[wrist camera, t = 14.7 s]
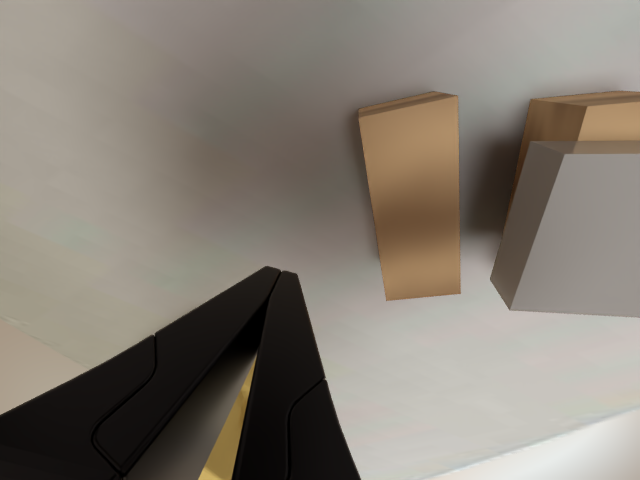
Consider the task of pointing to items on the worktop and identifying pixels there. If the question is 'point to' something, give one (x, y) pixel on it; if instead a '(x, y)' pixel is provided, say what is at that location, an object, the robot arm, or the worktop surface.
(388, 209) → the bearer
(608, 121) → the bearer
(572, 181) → the slab
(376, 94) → the worktop surface
